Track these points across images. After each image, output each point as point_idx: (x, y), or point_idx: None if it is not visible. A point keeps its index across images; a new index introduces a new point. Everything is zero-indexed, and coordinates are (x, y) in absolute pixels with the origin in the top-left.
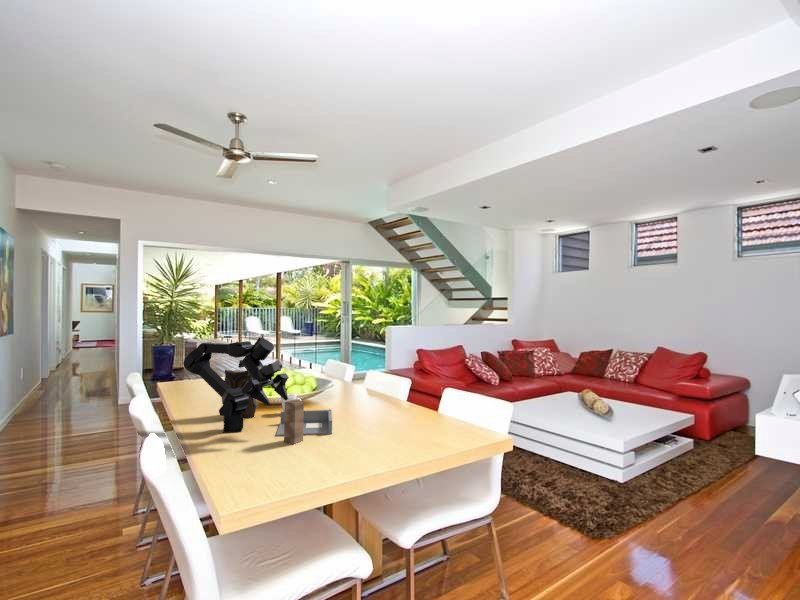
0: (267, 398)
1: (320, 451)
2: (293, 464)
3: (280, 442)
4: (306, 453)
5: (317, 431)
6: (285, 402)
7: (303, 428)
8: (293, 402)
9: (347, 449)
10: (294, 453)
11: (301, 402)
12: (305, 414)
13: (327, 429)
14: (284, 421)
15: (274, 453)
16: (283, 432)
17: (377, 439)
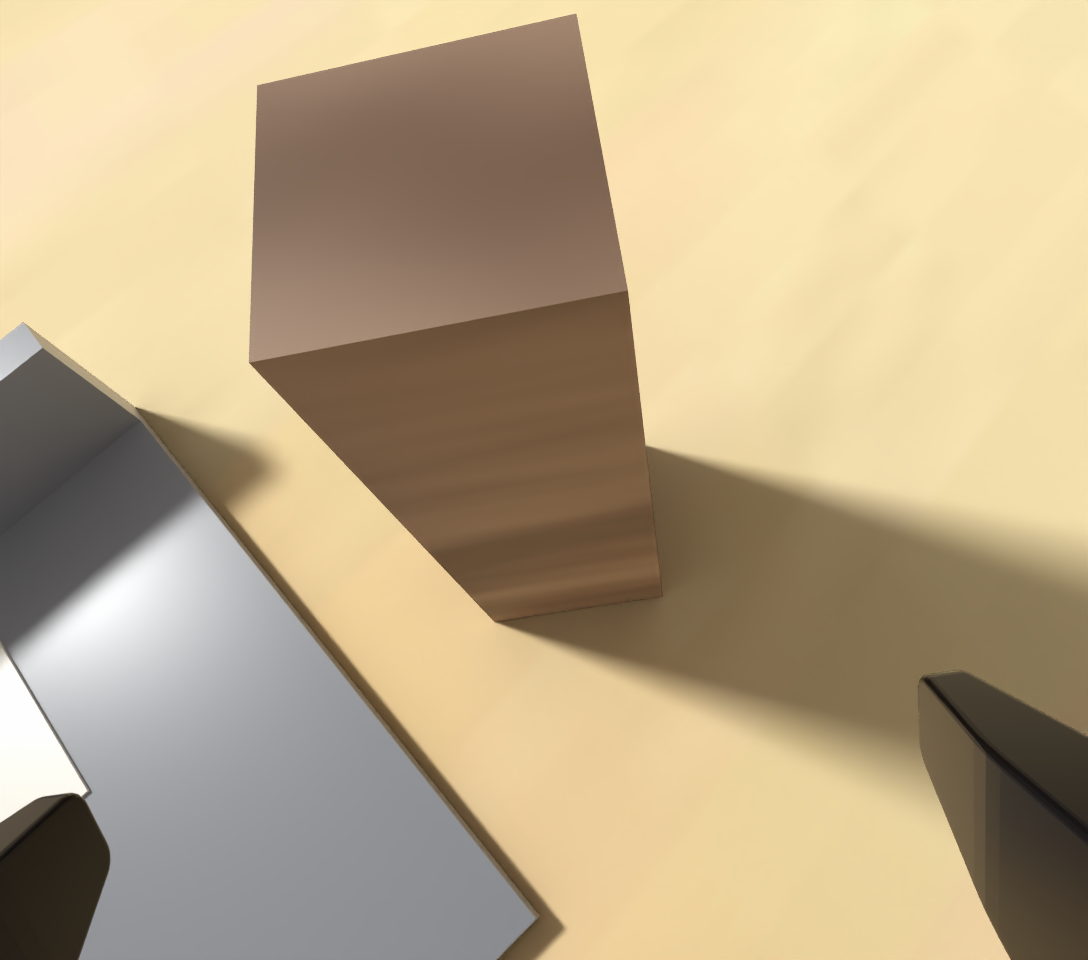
0: (1049, 784)
1: (621, 126)
2: (1018, 49)
3: (686, 636)
4: (745, 167)
5: (157, 547)
6: (621, 277)
7: (116, 805)
8: (521, 110)
9: (445, 27)
10: (826, 239)
11: (350, 83)
12: None
13: (41, 515)
14: (649, 498)
15: (986, 380)
16: (400, 908)
17: (112, 39)
